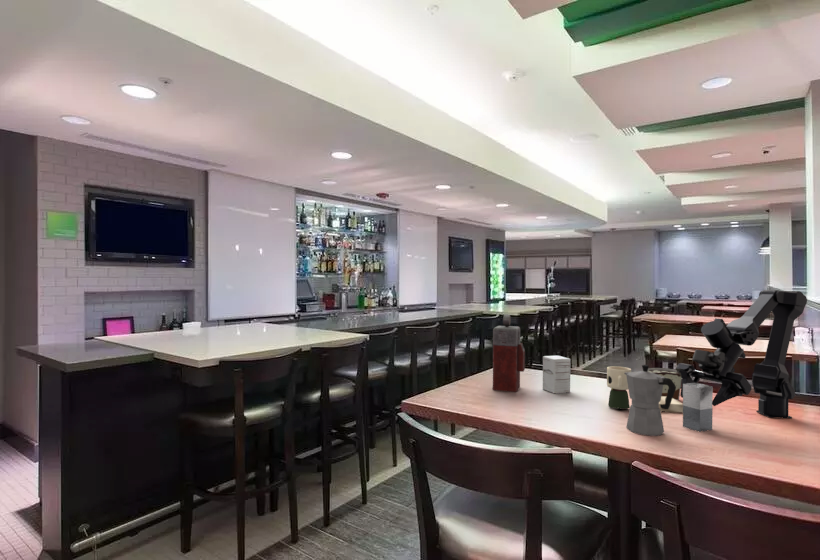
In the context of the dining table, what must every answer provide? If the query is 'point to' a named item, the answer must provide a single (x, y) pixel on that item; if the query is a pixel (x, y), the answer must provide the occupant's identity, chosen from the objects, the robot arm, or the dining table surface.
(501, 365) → the red thermos flask
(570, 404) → the dining table surface
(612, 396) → the character mug
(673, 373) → the food container
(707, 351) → the robot arm
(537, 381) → the dining table surface
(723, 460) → the dining table surface
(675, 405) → the stand
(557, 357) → the supplement box
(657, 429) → the coffeepot
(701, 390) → the block
